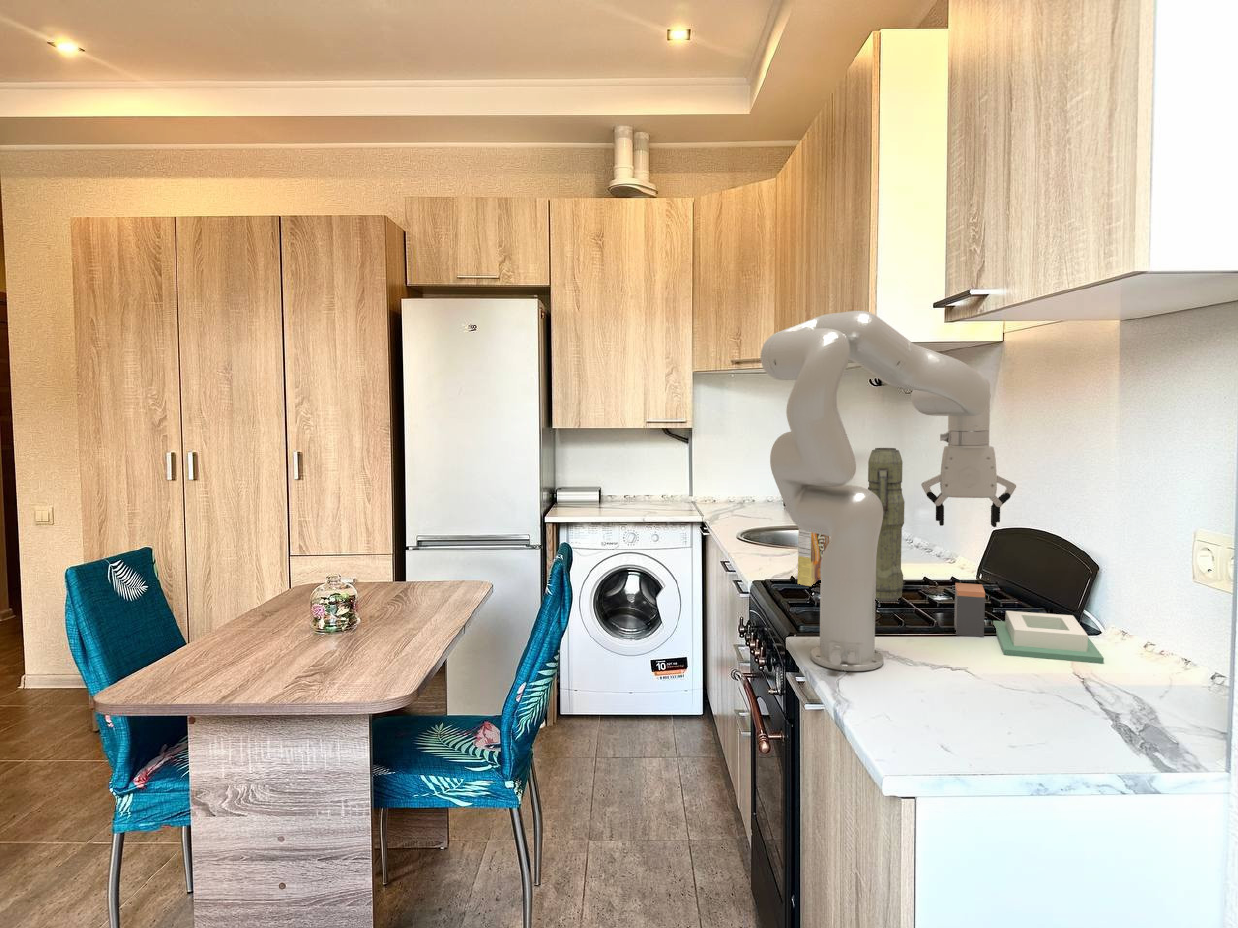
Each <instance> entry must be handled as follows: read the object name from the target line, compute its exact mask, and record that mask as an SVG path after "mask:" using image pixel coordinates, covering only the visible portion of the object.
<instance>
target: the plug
mask: <svg viewBox="0 0 1238 928" xmlns="http://www.w3.org/2000/svg"><path fill="white" fill-rule="evenodd" d="M954 589H955V590H954V621H953V627H954V631H955V630H956V632H955V636H961V637H962V636H963V637H974V638H985V613H986V612H985V611H986V610H985V607H986V605H985V604H986V592H985V589H984V587H983V584H982V583H979V584H978V583H963V582H955V587H954Z"/></svg>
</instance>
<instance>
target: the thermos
mask: <svg viewBox="0 0 1238 928" xmlns="http://www.w3.org/2000/svg"><path fill="white" fill-rule="evenodd" d="M867 463H868V465H867V467H868V469H867V470H868V471H867V474H868V475H867V483H868V487H867V489H868V490H870V491H872V492H873V493H874V494H876V495H877V497H878V498H879V499H880V501H881V503H882V506H883V521H882V526H881V530H880V534H879V539H878V545H877V555H876V598H875V599H877V600H880V601H879V602H885V601H892V602H895V601H894V600H897V599H899V598H901V597H902V598H903V588H904V573H903V570H902V533H903V531H902V530H903V527H904V524H905V499H904V496H903V488H902V483H903V458H902V456H901V453H900V450H898V449H897V448H895V447H875V448H874V449H872V450H871V452H870V455H869V457H868V462H867Z"/></svg>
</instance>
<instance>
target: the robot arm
mask: <svg viewBox="0 0 1238 928" xmlns="http://www.w3.org/2000/svg"><path fill="white" fill-rule="evenodd" d="M761 347H762V348H761V351H760V362H761V367H762V368H763V370H764V371H765V373H766V374H767V375H768V376H769V377H770V378H773V379H775V380H779V381H795V382H794V384H793V387H792V389H791V391H790V394H789V397H788V400H787V404H786V418H787V424H788V426H789V430H790V431H787V432H785V433H782V434H780V436H778V437H777V438H776V440H775V441H774V442H773V444H772V446H771V449H770V456H769V462H770V463H769V464H770V469H771V475H772V476H773V479H774V482H775V483H776V486H777V489H778V491H779V494H780V496H781V499H782V501H783V503H784V505H785V508H786V510H787V513H788V515H789V517H790V518H791V521H792V522H793V524H795V525H796V526H797V527H798V529H799V528H800V529H802V530H805V531H808V532H812V533H817V534H822V535H827V536H829V538H830V539H829V544H828V546H827V548H826V549H825V551H824V553H823V556H822V559H821V569H820V574H821V583H820V588H819V589H820V591H819V592H820V593H819V594H820V595H819V599H820V601H819V645H818V646H815V647H813V648H812V649H811V651H810V658H811V660H812V661H813V662H814V663H815V664H817V665H819V666H822V667H824V668H827V669H831V670H837V671H843V670H844V671H846V672H847V671H848V672H865V671H873V670H876V669H878V668H881V667H882V666H883V665H884V659H885V657H884V655H883V654H882V653H881V652H880V651H878V650H877V649H875V646H876V645H875V644H876V639H875V638H876V601H875V598H876V555H877V545H878V539H879V534H880V530H881V526H882V521H883V506H882V503H881V501H880V499H879V498H878V497H877V495H876V494H874V493H873V492H872V491H870V490H868V488H864V487H862V486H858V485H852V484H851V485H850V484H848V483H850V482H851V481H852V480H853V478H854V477H855V474H856V472H857V462H856V458H855V454H854V450H853V448H852V445H851V442H850V440H849V437H848V434H847V431H846V429H845V427H844V424H843V421H842V418H841V415H840V412H839V408H838V403H837V400H838V399H837V398H838V397H837V396H838V390H839V387H840V384H841V381H842V379H843V377H844V375H845V373H846V369H847V368H848V366H849V361H852V362H854V363H855V364H857V365H858V366H860V367H861V368H863V369H864V370H866V371H867V372H869V373H870V374H872V375H873V376H874V377H876V378H877V379H879V380H880V381H881V382H883V383H884V384H887V385H890V386H893V387H898V388H902V389H905V390H911V391H912V392H911V396H910V399H911V403H912V405H913V407H914V409H915V410H916V411H918V412H919V413H921V414H923V415H925V416H926V415H927V416H932V417H933V416H934V417H937V416H939V417H947V416H948V417H947V432H945V433H940V434H939V436H940V437H939V440H940V441H943V442H946V443H947V446H944V447H943V452H942V456H941V457H942V458H941V467H940V474H938V475H936V476H934V477H931V478H929V479H927V480H925V481H923V482H921V488H922V490H923V492H924V493H925V495H926V497H927V498H928V499H929V500H930V501H931V502H932V503H933V505H935V522H938V523H939V526H940V527H943V526H944V525H945V506H944V502H945V501H946V500H947V499H948V498H955V499H956V498H957V499H958V498H961V499H962V498H963V499H977V498H978V499H990V501H991V502H992V505H990V525H991V526H992V528H997V523H1000V522H1001V507H1002V506H1003V505H1004V503H1006V502H1007V501H1009V499H1010V498H1011V496H1012V495H1013V494H1014V492H1015V490H1016V489H1017V484H1016V483H1014V482H1013V481H1010V480H1008V479H1006V478H1004V477H1001V476H999V475H997V461H996V453H995V448H994V446H990V422H991V420H990V419H991V418H990V416H991V414H990V413H991V409H990V408H991V407H990V406H991V404H990V403H991V397H992V395H991V383H990V380H989V379H988V378H987V377H984V376H982V375H981V374H980V373H979V372H977V370H975V369H974V368H972V367H971V366H970V365H968V364H967V363H965V362H963V361H961V360H960V359H957V358H954V357H953V356H950V355H946V354H944V353H940V352H937V351H936V350H932V349H930V348H926V347H923V346H920V345H917V344H915V343H913V342H912V341H910V339H908V338H907V337H905V336H904V335H903V334H901V333H900V332H899V331H898V330H896V329H895V328H893V326H890V325H889V324H888V323H887V322H886V321H884V320H883V319H881V318H880V317H879V316H877V315H876V314H874V313H872V312H870V311H867V310H851V311H844V312H834V313H827V314H823V315H822V314H821V315H819V316H816V317H813V318H810V319H808V320H805V321H803V322H801V323H799V324H796V325H792V326H791V327H787V328H785V329H783V330H780V331H777V332H775V333H773V334H772V335H770V336H769V337H768V338H767V339H766V341H765V342H764V343H763V345H762V346H761ZM936 484H939V486H940V493H939V494H938V495H936V494H934V492H933V491H932V489H931V487H932V486H934V485H936ZM998 484H999V485H1001V486H1004V487H1005V490H1004V492H1003V493H1002V494H1001V495H1000V496H997V490H998Z"/></svg>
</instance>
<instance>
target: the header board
mask: <svg viewBox="0 0 1238 928" xmlns="http://www.w3.org/2000/svg"><path fill="white" fill-rule="evenodd" d="M993 625H994V626H995V628H996V633H995V635H996V638H997V640H998V643H999V646H1000V648H1001V650H1002V653H1003V655H1004V656H1013V657H1023V658H1024V657H1026V658H1034V659H1035V658H1037V659H1048V660H1050V659H1051V660H1059V661H1069V662H1070V661H1073V662H1082V663H1092V662H1094V663H1095V664H1104V659H1105V658H1104V657H1103V655H1102V654H1101V652H1100V651H1099V650H1098V648H1097V647H1096V645H1095V644H1094V643H1093V642H1092V640H1091V639H1090V637H1089V635H1088V634H1087V632H1086V630H1085V629H1084V628H1083V627H1082V626H1081V625H1080V623H1079V622H1078V620H1077V619H1076V617H1075V616H1074V615H1073V614H1072V615H1071V614H1056V613H1042V612H1028V611H1016V610H1015V611H1014V610H1005V620H1004V621H1003V620H992V626H993ZM1094 663H1093V664H1094Z"/></svg>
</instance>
